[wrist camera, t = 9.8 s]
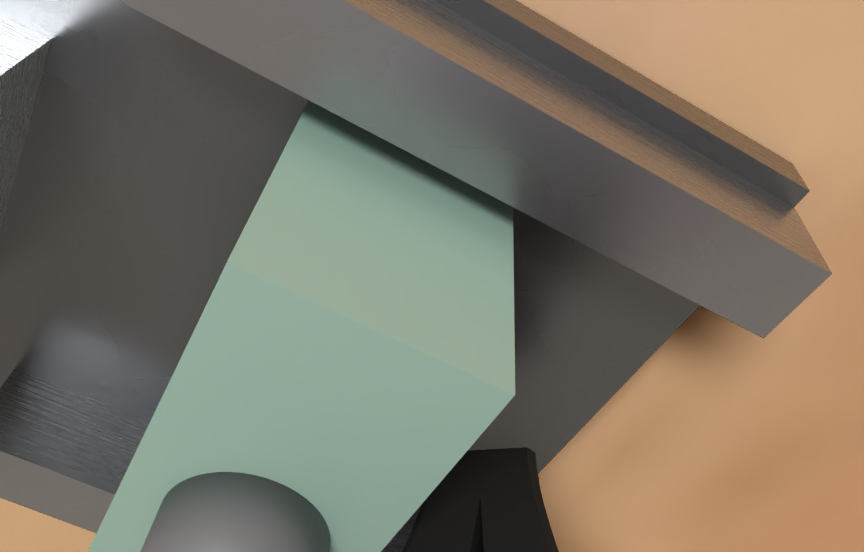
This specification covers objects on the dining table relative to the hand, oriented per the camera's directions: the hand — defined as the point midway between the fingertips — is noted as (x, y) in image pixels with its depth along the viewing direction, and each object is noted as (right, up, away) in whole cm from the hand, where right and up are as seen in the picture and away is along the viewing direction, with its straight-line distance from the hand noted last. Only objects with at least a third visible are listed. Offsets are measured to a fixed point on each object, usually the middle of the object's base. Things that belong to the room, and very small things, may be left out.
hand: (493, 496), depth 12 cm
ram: (-3, +3, +1) cm, 4 cm away
